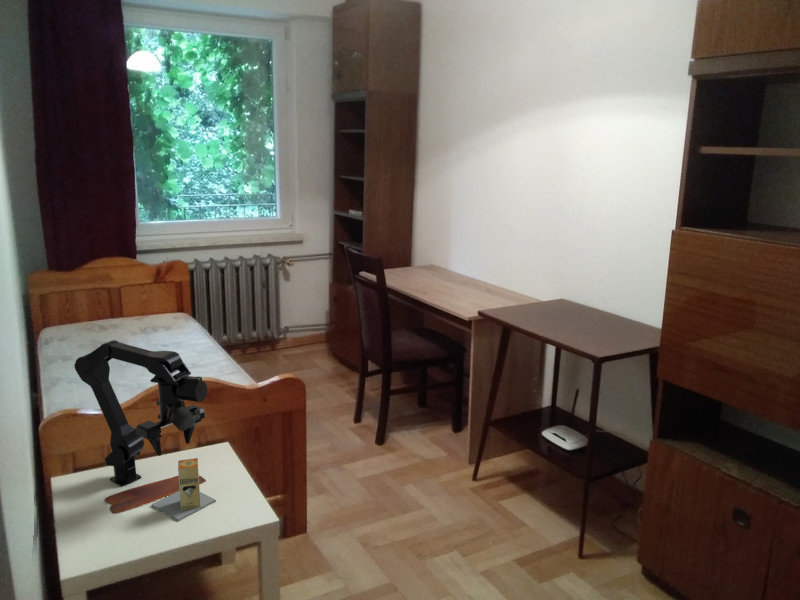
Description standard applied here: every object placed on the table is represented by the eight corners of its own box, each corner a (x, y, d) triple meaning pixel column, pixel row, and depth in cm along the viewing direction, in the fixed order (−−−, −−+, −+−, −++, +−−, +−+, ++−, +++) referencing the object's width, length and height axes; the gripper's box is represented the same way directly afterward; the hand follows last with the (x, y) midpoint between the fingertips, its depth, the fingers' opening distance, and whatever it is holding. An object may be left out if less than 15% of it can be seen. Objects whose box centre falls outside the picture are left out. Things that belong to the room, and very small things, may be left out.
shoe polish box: (181, 500, 173) (178, 460, 170) (200, 497, 174) (197, 458, 172) (181, 510, 168) (178, 469, 165) (200, 507, 170) (197, 466, 167)
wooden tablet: (114, 517, 167) (113, 512, 166) (102, 501, 174) (102, 496, 174) (209, 484, 184) (209, 479, 183) (195, 471, 191) (195, 466, 191)
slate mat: (151, 506, 171) (151, 504, 171) (188, 488, 180) (188, 486, 180) (178, 521, 164) (178, 519, 164) (215, 501, 174) (215, 499, 173)
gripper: (157, 415, 162) (161, 470, 166) (216, 394, 177) (218, 445, 181) (132, 405, 169) (137, 458, 172) (191, 385, 183) (194, 435, 187)
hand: (173, 449), depth 178 cm, fingers open, 9 cm apart
